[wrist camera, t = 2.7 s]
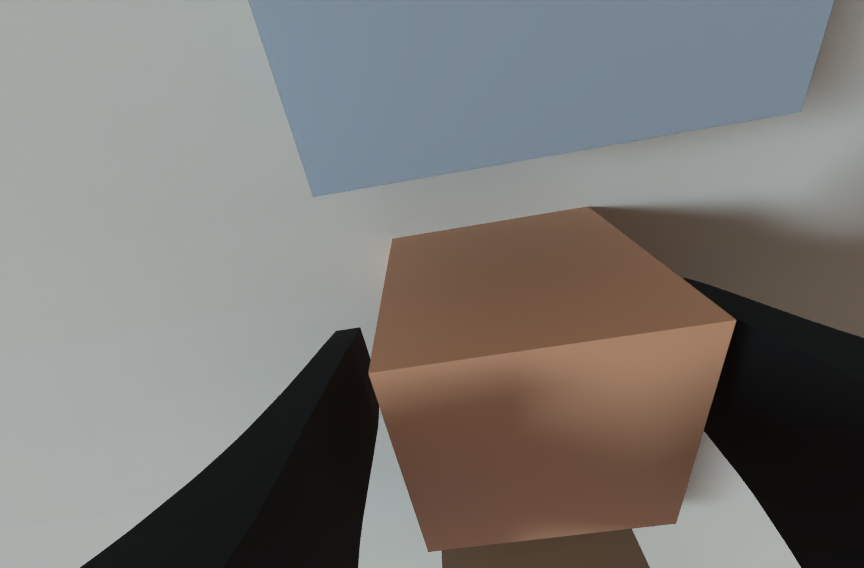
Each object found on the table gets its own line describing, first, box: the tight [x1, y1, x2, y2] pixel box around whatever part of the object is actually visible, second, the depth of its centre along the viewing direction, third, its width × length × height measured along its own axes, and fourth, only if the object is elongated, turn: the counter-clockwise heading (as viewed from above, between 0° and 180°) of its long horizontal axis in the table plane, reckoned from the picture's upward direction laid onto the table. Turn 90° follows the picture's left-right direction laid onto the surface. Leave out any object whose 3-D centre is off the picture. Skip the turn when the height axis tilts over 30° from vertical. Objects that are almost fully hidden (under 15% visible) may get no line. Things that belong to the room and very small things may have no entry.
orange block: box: [368, 207, 736, 552], centre depth 8 cm, size 5×5×5 cm
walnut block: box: [442, 529, 650, 568], centre depth 12 cm, size 5×5×5 cm
